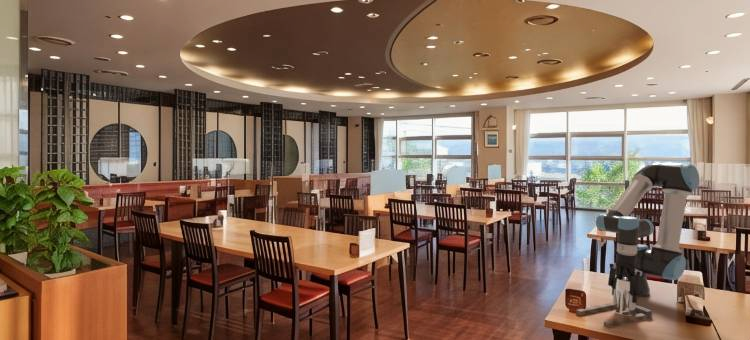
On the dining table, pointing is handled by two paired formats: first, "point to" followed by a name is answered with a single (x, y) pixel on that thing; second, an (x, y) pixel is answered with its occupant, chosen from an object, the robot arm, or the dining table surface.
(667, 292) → the dining table surface
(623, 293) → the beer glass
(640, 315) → the guide track
